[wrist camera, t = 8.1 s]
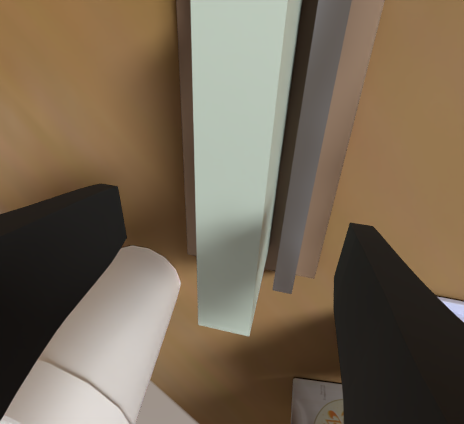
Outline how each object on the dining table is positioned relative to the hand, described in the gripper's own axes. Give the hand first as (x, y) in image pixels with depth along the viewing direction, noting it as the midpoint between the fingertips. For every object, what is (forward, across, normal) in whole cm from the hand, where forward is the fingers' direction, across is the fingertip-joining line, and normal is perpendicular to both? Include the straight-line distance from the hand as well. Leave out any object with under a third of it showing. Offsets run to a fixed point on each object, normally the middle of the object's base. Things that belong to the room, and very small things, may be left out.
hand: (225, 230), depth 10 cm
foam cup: (+10, +9, +13) cm, 18 cm away
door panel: (+9, 0, 0) cm, 9 cm away
